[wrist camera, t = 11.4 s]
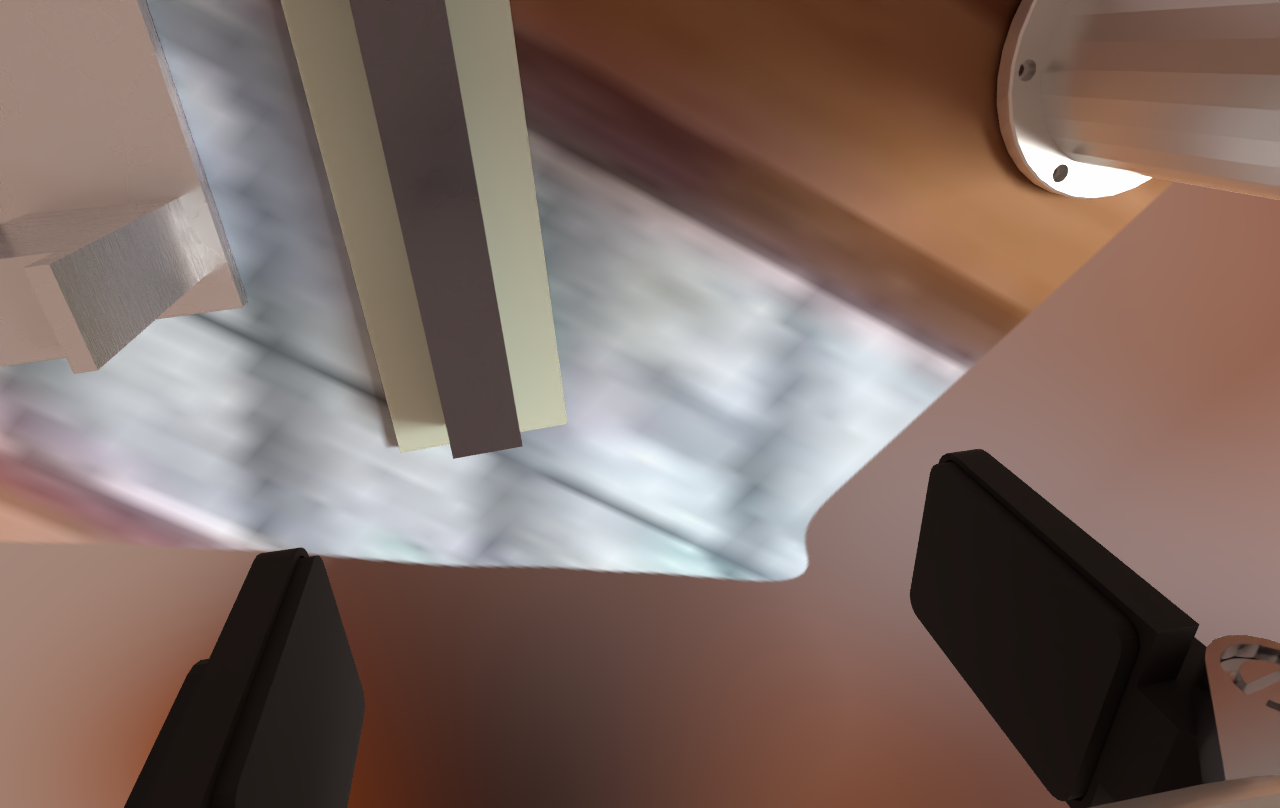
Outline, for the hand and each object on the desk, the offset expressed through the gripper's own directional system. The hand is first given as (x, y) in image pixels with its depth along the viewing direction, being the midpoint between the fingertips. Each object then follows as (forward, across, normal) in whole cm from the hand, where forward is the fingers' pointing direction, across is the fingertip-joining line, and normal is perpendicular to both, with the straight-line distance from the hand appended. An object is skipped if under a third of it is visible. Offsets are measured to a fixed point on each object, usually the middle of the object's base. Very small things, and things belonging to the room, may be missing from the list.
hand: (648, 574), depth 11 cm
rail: (+23, +4, -4) cm, 23 cm away
